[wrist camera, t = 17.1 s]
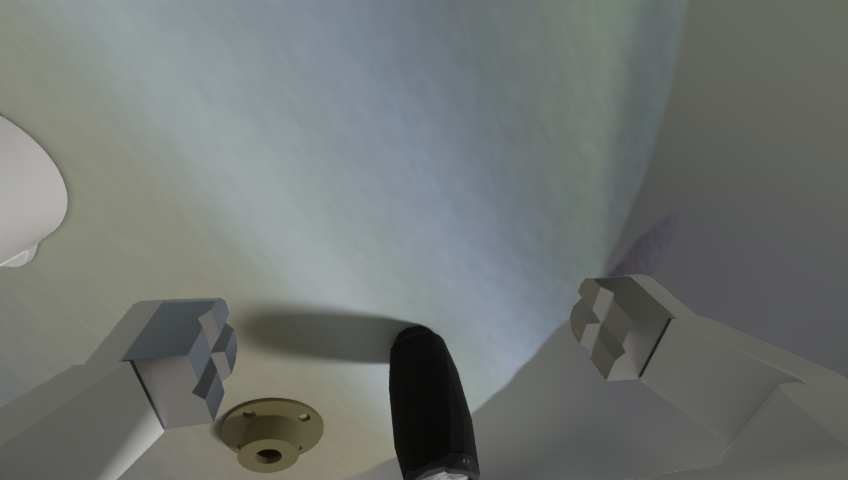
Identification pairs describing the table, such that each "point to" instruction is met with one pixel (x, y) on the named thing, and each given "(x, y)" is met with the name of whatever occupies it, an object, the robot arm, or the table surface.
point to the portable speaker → (429, 410)
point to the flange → (271, 433)
